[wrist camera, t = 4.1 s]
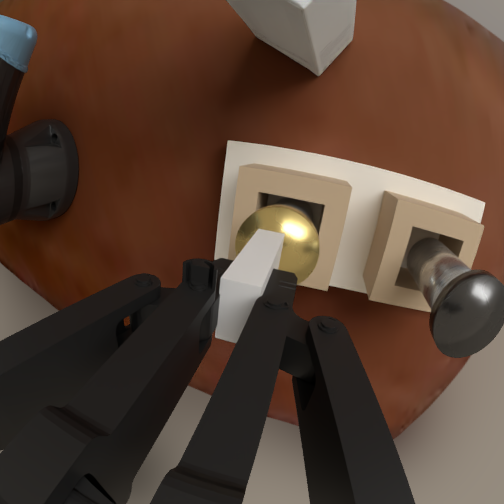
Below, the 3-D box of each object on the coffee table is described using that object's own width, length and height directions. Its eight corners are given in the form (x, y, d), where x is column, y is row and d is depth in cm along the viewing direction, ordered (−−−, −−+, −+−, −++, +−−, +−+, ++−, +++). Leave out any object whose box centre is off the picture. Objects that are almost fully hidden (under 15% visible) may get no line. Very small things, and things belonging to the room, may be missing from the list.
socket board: (220, 253, 32) (194, 279, 25) (234, 140, 27) (207, 138, 21) (443, 301, 27) (464, 336, 21) (476, 199, 23) (511, 214, 16)
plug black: (390, 282, 22) (419, 353, 13) (409, 222, 20) (457, 268, 11) (441, 293, 21) (483, 360, 12) (461, 237, 19) (520, 285, 11)
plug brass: (260, 237, 28) (230, 278, 19) (268, 183, 26) (240, 200, 17) (314, 248, 27) (309, 296, 18) (326, 194, 25) (327, 217, 16)
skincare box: (353, 40, 21) (372, -45, 7) (316, 80, 23) (308, 12, 10) (284, -1, 21) (249, -90, 7) (248, 37, 23) (186, -38, 9)
